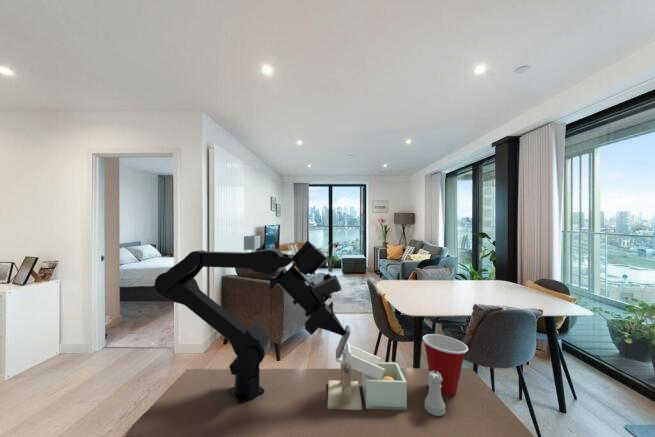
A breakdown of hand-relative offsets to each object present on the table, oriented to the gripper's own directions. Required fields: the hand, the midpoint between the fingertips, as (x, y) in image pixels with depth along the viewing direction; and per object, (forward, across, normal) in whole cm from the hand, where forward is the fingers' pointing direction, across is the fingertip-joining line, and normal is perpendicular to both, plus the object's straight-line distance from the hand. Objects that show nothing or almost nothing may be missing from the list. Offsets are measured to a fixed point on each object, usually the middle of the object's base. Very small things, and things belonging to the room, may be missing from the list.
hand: (344, 333), depth 65 cm
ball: (+16, 0, +1) cm, 16 cm away
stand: (+10, 0, +10) cm, 15 cm away
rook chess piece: (+25, -4, -3) cm, 25 cm away
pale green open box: (+17, 0, +4) cm, 17 cm away
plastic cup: (+29, +4, -7) cm, 30 cm away
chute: (+7, 0, +3) cm, 8 cm away
